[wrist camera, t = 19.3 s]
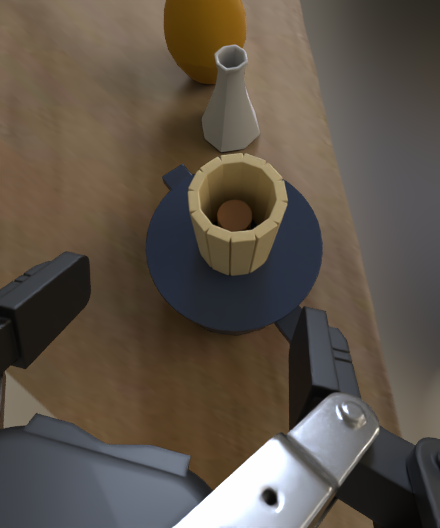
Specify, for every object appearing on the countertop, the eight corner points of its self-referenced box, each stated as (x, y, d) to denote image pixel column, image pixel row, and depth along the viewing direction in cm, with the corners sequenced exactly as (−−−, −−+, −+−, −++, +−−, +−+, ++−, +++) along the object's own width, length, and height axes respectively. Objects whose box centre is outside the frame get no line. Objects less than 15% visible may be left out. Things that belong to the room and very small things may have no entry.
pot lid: (214, 371, 25) (210, 372, 19) (117, 230, 29) (88, 196, 23) (355, 262, 27) (390, 234, 22) (248, 144, 31) (253, 93, 25)
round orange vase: (162, 57, 45) (140, -46, 34) (228, 36, 46) (228, -70, 34) (185, 111, 42) (169, 19, 31) (255, 88, 43) (264, -9, 32)
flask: (217, 162, 40) (214, 98, 30) (192, 118, 42) (181, 45, 32) (269, 138, 41) (282, 68, 31) (242, 96, 42) (246, 19, 33)
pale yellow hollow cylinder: (227, 290, 26) (227, 261, 19) (184, 233, 27) (169, 187, 20) (286, 247, 27) (307, 204, 20) (241, 194, 28) (246, 137, 21)
